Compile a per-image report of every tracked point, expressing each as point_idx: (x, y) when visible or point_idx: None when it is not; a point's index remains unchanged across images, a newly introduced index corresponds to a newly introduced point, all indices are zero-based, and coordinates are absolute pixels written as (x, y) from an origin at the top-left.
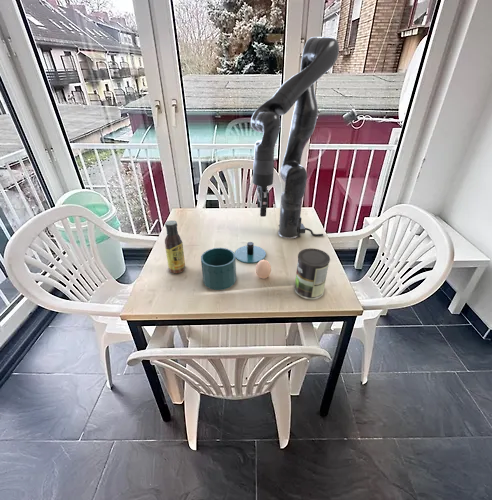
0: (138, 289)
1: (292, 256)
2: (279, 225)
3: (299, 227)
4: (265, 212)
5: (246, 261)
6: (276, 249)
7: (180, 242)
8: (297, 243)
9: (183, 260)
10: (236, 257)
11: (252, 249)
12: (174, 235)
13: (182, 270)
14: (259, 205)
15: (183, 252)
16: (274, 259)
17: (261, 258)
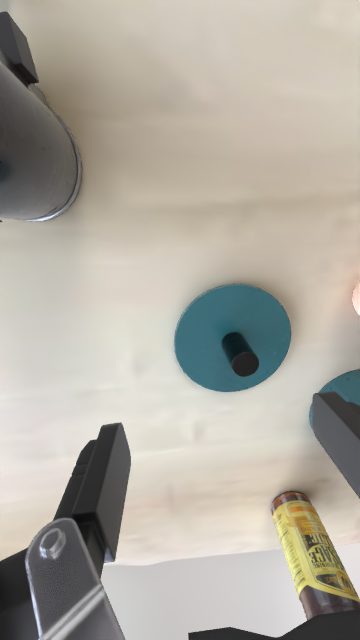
0: (351, 542)
1: (238, 160)
2: (16, 217)
3: (11, 65)
4: (357, 420)
5: (285, 351)
6: (181, 236)
7: (350, 605)
8: (116, 117)
9: (311, 522)
10: (257, 384)
11: (248, 345)
12: None
13: (304, 496)
14: (124, 463)
15: (314, 547)
16: (258, 246)
17: (270, 301)
